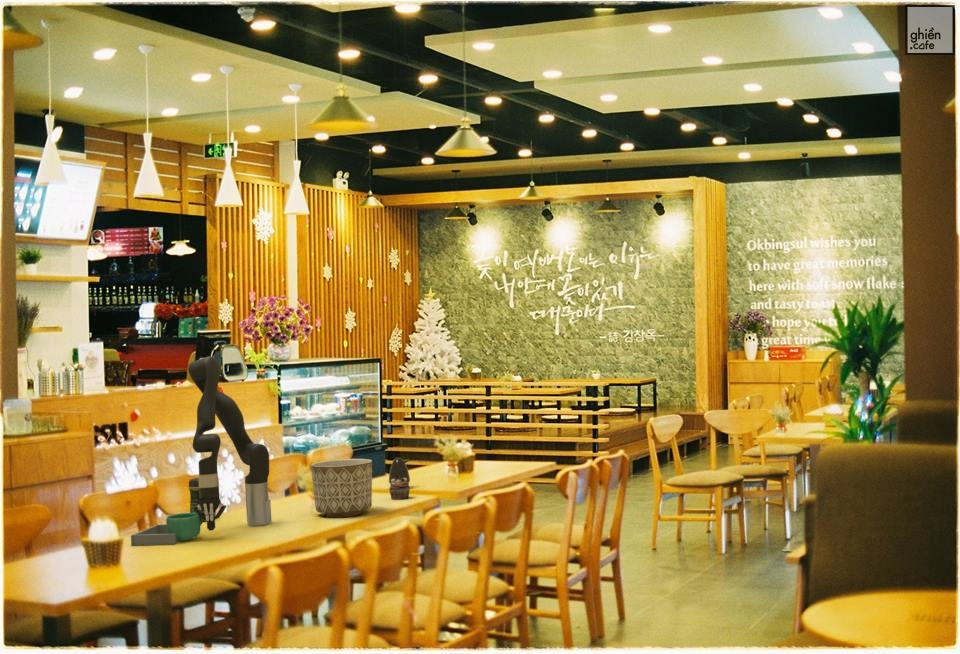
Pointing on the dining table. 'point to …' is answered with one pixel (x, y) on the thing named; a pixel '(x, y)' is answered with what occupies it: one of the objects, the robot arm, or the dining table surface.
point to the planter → (342, 486)
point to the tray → (153, 536)
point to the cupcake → (399, 488)
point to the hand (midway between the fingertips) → (211, 530)
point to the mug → (184, 526)
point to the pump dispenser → (399, 469)
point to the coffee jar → (194, 495)
